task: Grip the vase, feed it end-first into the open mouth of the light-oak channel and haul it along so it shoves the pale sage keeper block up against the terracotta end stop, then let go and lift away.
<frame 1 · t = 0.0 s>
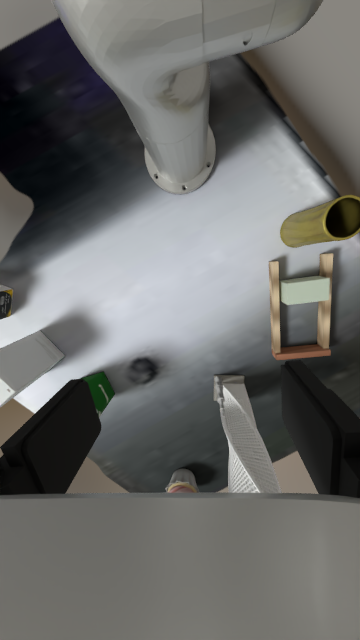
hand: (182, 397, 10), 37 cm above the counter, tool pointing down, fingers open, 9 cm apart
skyscraper: (231, 389, 52), on the counter
milk carton: (97, 385, 55), on the counter
track: (296, 306, 44), on the counter
keeper: (302, 289, 41), point 3 cm above the counter, slide at 0.0 cm
vase: (296, 230, 40), on the counter
supplement box: (42, 351, 54), on the counter
cupcake: (183, 475, 62), on the counter
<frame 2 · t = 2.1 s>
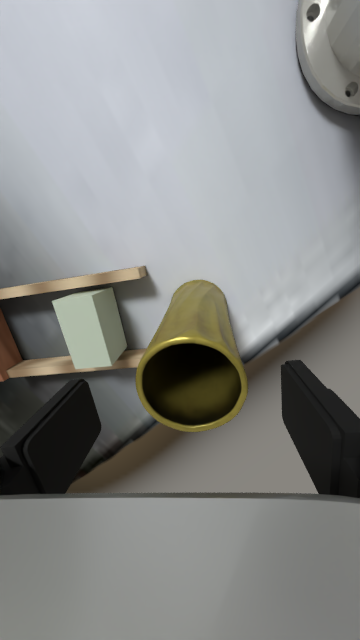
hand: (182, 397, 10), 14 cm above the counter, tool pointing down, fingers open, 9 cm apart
track: (74, 322, 25), on the counter
keeper: (94, 326, 22), point 3 cm above the counter, slide at 0.0 cm
vase: (198, 307, 23), on the counter
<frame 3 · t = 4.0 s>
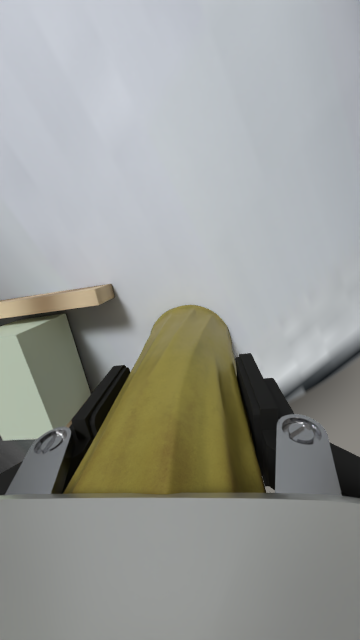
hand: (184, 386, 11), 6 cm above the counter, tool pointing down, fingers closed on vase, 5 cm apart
track: (16, 361, 18), on the counter
keeper: (36, 373, 15), point 3 cm above the counter, slide at 0.0 cm
vase: (190, 342, 16), on the counter, touching gripper
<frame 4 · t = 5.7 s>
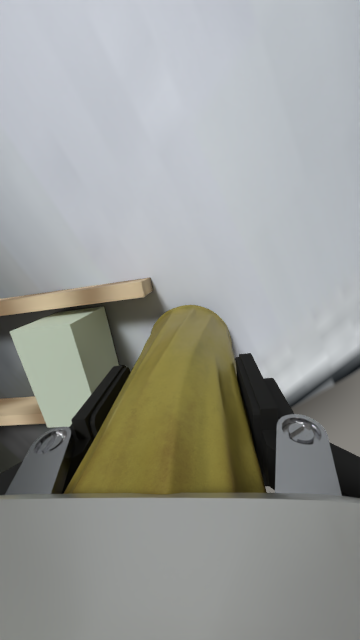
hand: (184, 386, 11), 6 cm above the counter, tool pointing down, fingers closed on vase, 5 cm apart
track: (51, 353, 19), on the counter
keeper: (77, 363, 16), point 3 cm above the counter, slide at 0.0 cm
vase: (190, 342, 16), point 1 cm above the counter, touching gripper
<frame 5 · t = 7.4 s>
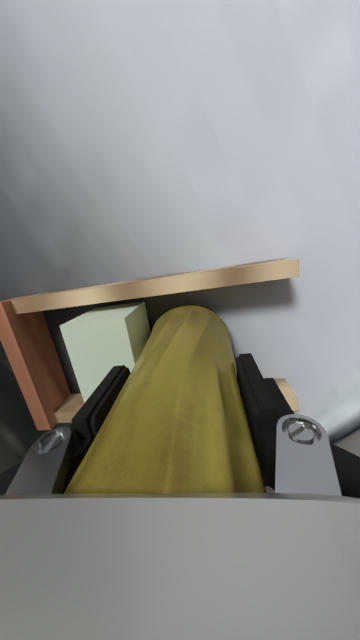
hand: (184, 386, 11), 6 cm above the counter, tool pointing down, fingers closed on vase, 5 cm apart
track: (156, 342, 17), on the counter
keeper: (119, 359, 15), point 3 cm above the counter, slide at 6.2 cm, touching vase
vase: (190, 342, 16), point 1 cm above the counter, touching gripper, keeper
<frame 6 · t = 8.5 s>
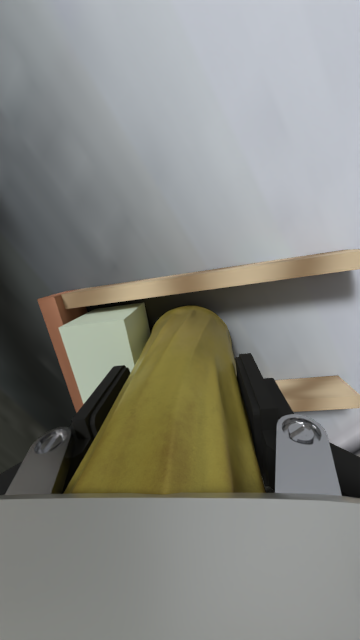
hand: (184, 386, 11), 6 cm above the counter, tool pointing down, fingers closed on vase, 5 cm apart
track: (204, 339, 17), on the counter
keeper: (119, 361, 15), point 3 cm above the counter, slide at 10.1 cm
vase: (190, 343, 16), point 1 cm above the counter, touching gripper
when the fingers open (6 cm above the counter, at t = 10.2 s): vase stays where it is, resting in track.
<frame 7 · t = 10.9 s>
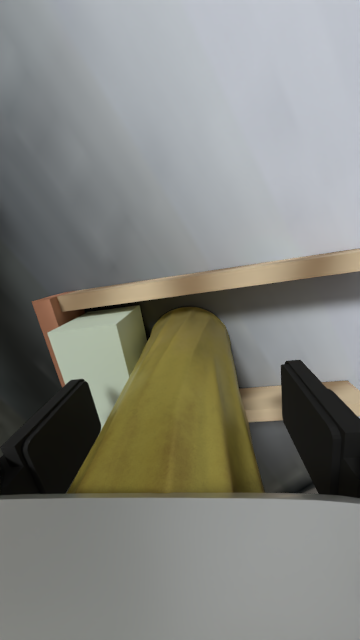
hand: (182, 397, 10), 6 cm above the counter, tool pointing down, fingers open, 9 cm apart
track: (207, 342, 16), on the counter
keeper: (113, 367, 14), point 3 cm above the counter, slide at 10.5 cm
vase: (189, 343, 16), resting in track
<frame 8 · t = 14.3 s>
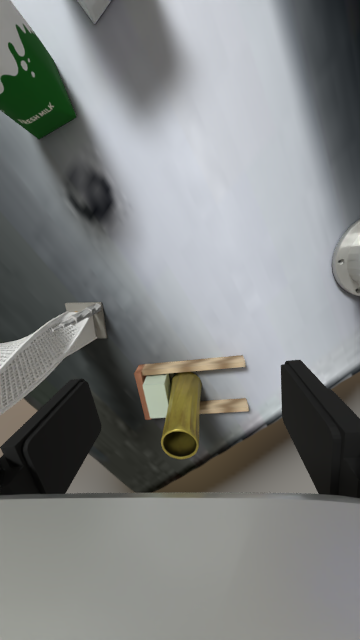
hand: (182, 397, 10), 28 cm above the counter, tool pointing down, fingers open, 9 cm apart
skyscraper: (85, 323, 41), on the counter
milk carton: (46, 101, 31), on the counter
track: (193, 383, 42), on the counter
keeper: (159, 393, 41), point 3 cm above the counter, slide at 10.5 cm
vase: (186, 383, 43), resting in track
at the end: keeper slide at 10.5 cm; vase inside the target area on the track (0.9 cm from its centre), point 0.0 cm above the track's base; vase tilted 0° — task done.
